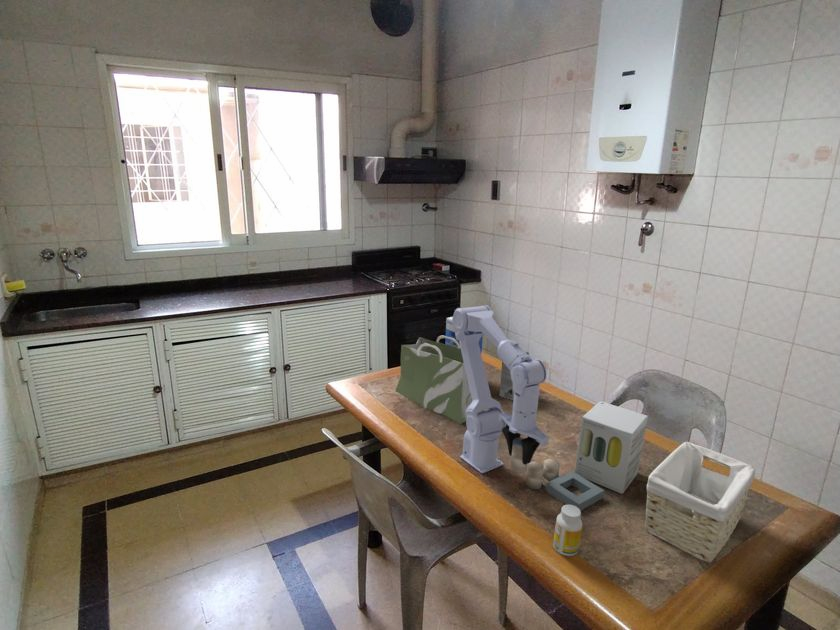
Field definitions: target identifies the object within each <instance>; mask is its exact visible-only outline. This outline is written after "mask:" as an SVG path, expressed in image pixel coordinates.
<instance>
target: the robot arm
mask: <svg viewBox="0 0 840 630" xmlns="http://www.w3.org/2000/svg"><path fill="white" fill-rule="evenodd" d="M452 317H453V318H452V323H453V327H454V332H455V336H456V339H457V340H459V343H460V348H461V352H462V357H463V361H464V365H465V370H466V374H467V379H468V383H469V388H470V392H471V396H472V403H471V404H470V405H469V407H468V408H467V409H466V421H465V422H466V423H465V425H466V428H467V429H466V431H465V433H464V435H463V441H462V442H463V444H462V454H461V455H460V456H459V457H460V458H461V460H463V461H464V462H466V463H467V464H468V465H470V466H471V467H472V468H473V469H475V470H477V471H478V472H479V473H480V474H486V473H487V472H490V471H491V470H494V469H497V468H499V467H502V466H503V465H504V462H502V461H500V459H498V450H499V449H498V448H499V439H500V437H499V436H501V435H502V434H503V436H504V439H505V440H506V444H507V449H508V454H509V456H510V457H512V446H513V439H514V438H517V437H521V435H523V436H526V437H524V438H525V439H522V440H521V444H522V448H523V458H522V462H523V464H524V465H526V464H527V465H528V463H530V462H532V459H533V457H534V454H535V452H536V451H537V449H538V448H539V446H540V447H546V446H547V445H549V441H550V437H549V436H547V435H546V434H545V433H544V432H543V431H542V430H541V429H540V428H539V427H538V426H537V424H536V422H537V414H538V413H537V412H538V406H539V405H538V404H539V397H540V396H539V395H540V388H541V384H542V383H544V382H545V381H546V379H547V369H546V366H545V365H544V362H543V361H542V360H541V359H539V358H534V357H531V356H530V355H528V354H527V353H526V352H527V351H526V350H525V349H524V348H523V347H522V346H521V345H520V344H519V342H518V341H517V340H515V339H509V338H508V337H507V336H506V334H505V332H504V331H503V330H502V329H501V327H500V326H499V324H498V323H497V322H496V320H495V317H496V316H495V312H494V311H493V310H492V308H491V307H490V306H489V305H486V304H484V305H479V306H471V307H457V308H456V309H454V312H453V315H452ZM482 336H483V337H484V336H485V337H486V339H488V340H489V341H490V342H491V343H492V344H493V345H494V346H495V347H496V348H497V351H496V353H497V356H498V358H499V359H500V360H501V361H503V362H504V364H505V365H506V366H507V367H508V368H509V370H510V371H511V379H512V382H513V391H514V400H513V401H512V413H511V414H509V413H507V412H504V411H503V408H502V405H501V403H500V402H499V401H497V399H494V398H493V397H492V395H491V390H490V386H489V383H488V377H487V373H486V369H485V365H484V361H483V355H482V354H481V351H480V347H479V340H480V338H481V337H482ZM487 409H488V410H487ZM480 410H484V411H483V412H479V411H480ZM478 412H479V413H478Z"/></svg>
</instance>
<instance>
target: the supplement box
mask: <svg viewBox="0 0 840 630" xmlns="http://www.w3.org/2000/svg"><path fill="white" fill-rule="evenodd" d="M648 419H649V415H646V414H644V413H643V414H642V413H640V412H637V411H633V410H630V409H627V408H624V407H623V406H622V407H621V406H618V405H614V404H611V403H609V402H605V401H602V400H600V401H599V402H597V403H596V404H595V405H594V406H592V407H591V408H590V410H588V411H587V412H586V413H585V414H583V416H582V418H581V423H580V424H581V425H580V431H579V439H578V445H577V446H578V447H577V452H576V453H577V454H576V461H575V467H574V468H575V470H574V472H575V473H576V474H578V475H580V476H581V477H583V478H584V479H586V480H588V481H589V482H591V483H595V484H597V485H600V486H602V487H605V488H607V489H609V490H612V491H614V492H616V493H619V494H620V495H622V494H624V493H625V491H626V490H627V489H628V488H629V486H631V485H630V484H632V482H633V481H634V479H635V478H636V476H637V475H638V474H639V468H640V463H641V458H642V457H641V456H642V453H643V445H644V440H645V436H646V435H645V434H646V430H647V425H648Z"/></svg>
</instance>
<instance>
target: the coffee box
mask: <svg viewBox="0 0 840 630" xmlns="http://www.w3.org/2000/svg"><path fill="white" fill-rule="evenodd" d="M525 352H526V353H527V354H528V355H529V351H528V352H527V351H525ZM529 356H530V355H529ZM501 361H502V360H501ZM498 395H499V397H500V396H501V397H500V398H503V397H504V398H503V399H506V398H507V399H506V400H509V399H510V400H509V401H512V400H514V391H513V382H512V379H511V371H510V370H509V368H508V367H507V366H506V365H505V364H504V362H503V361H502V362H501V374H500V387H499V394H498Z"/></svg>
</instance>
